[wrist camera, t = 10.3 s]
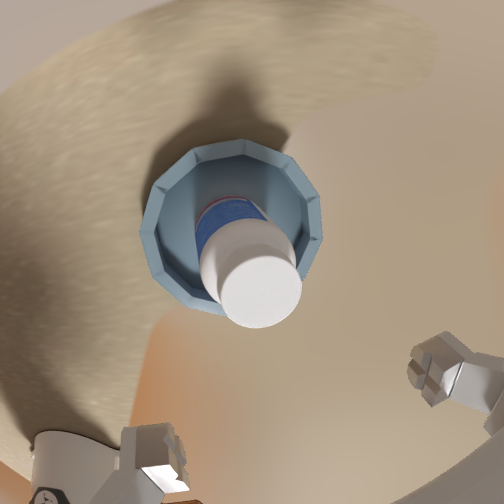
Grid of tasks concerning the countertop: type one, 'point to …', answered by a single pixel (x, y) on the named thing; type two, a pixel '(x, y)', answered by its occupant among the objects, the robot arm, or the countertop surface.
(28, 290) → the countertop surface
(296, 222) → the dish
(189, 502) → the wooden box
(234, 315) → the pill bottle
